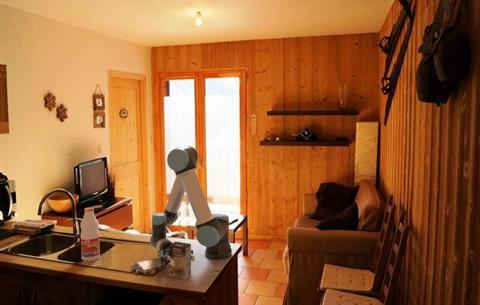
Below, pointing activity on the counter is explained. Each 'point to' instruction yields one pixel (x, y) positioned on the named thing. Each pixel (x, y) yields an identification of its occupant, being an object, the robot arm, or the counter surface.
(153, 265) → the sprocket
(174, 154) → the robot arm
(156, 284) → the counter surface
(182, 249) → the coffee box
